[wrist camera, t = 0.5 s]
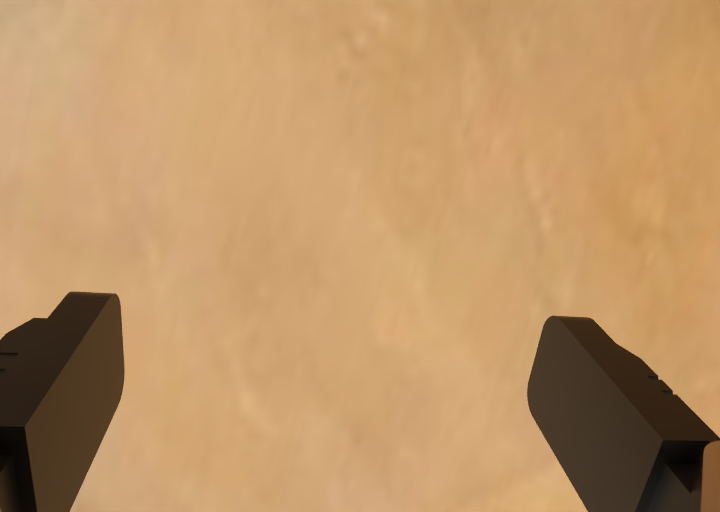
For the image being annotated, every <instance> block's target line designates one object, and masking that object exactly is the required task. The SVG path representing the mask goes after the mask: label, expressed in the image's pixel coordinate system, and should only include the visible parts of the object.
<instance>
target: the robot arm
mask: <svg viewBox="0 0 720 512" xmlns="http://www.w3.org/2000/svg"><path fill="white" fill-rule="evenodd" d="M123 384H124V354H123V337H122V321H121V306H120V300H119V297H118V296H117V294H112V293H92V292H69V293H68V294H67V295H66V296H65V298H64V299H63V300H62V301H61V302H60V304H59V305H58V306H57V307H56V309H55V310H54V311H53V312H52V313H51V315H50V316H49V317H48V318H33V319H31V320H30V321H28V322H26V323H24V324H22V325H21V326H19V327H17V328H15V329H13V330H12V331H10V332H8V333H6V334H5V336H4V337H3V338H2V339H1V340H0V512H70V509H71V507H72V505H73V503H74V501H75V498H76V496H77V494H78V492H79V490H80V488H81V485H82V483H83V481H84V479H85V477H86V474H87V472H88V470H89V468H90V466H91V464H92V461H93V459H94V457H95V455H96V453H97V450H98V448H99V446H100V444H101V442H102V440H103V437H104V435H105V433H106V431H107V429H108V426H109V424H110V422H111V420H112V418H113V416H114V413H115V411H116V409H117V407H118V404H119V402H120V399H121V395H122V390H123ZM527 397H528V405H529V409H530V412H531V414H532V416H533V418H534V420H535V421H536V423H537V425H538V427H539V428H540V430H541V432H542V433H543V435H544V437H545V439H546V440H547V442H548V444H549V445H550V447H551V449H552V451H553V452H554V454H555V456H556V457H557V459H558V461H559V463H560V464H561V466H562V468H563V469H564V471H565V473H566V475H567V476H568V478H569V480H570V481H571V483H572V485H573V487H574V488H575V490H576V492H577V493H578V495H579V497H580V499H581V500H582V502H583V504H584V505H585V507H586V509H587V511H588V512H720V438H719V437H718V436H717V435H716V434H715V433H714V432H713V431H712V430H711V429H710V428H709V427H708V426H707V425H706V424H705V423H704V422H703V421H702V420H701V419H700V418H699V417H698V416H697V415H696V414H695V413H694V412H693V411H692V410H691V409H690V408H689V407H688V406H687V405H686V404H685V403H684V402H683V401H682V400H681V399H680V398H679V397H678V396H677V395H673V391H672V390H671V389H670V388H669V387H668V386H667V385H666V384H665V383H664V382H663V381H662V380H658V376H657V375H656V374H655V373H654V372H653V371H652V370H651V368H650V367H649V366H648V365H647V364H646V363H645V362H644V361H643V360H642V359H640V358H639V357H637V356H635V355H634V354H632V353H631V352H629V351H627V350H626V349H624V348H623V347H621V346H619V345H618V344H616V343H615V342H614V341H613V340H612V339H611V338H610V337H609V336H608V335H607V334H606V333H605V331H604V330H603V329H602V328H601V327H600V326H599V325H598V324H597V323H596V322H595V321H594V320H593V319H591V318H586V317H566V316H551V317H549V318H548V319H547V320H546V322H545V324H544V326H543V329H542V333H541V337H540V341H539V344H538V348H537V352H536V356H535V359H534V363H533V367H532V371H531V374H530V378H529V382H528V390H527Z"/></svg>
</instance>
